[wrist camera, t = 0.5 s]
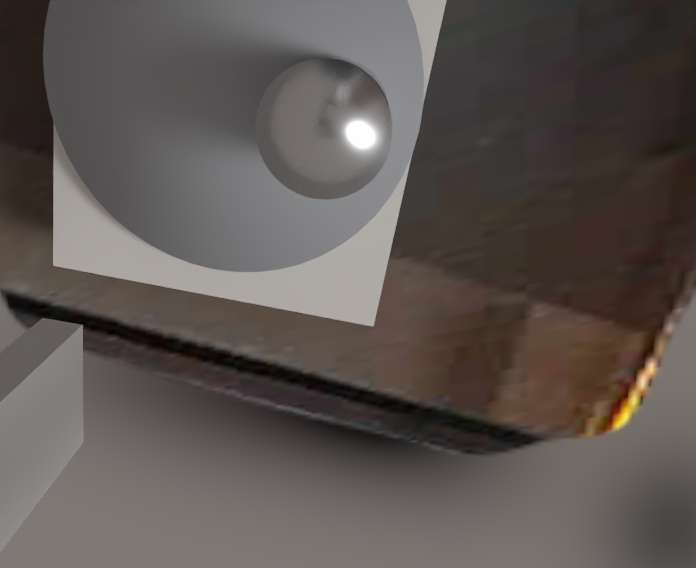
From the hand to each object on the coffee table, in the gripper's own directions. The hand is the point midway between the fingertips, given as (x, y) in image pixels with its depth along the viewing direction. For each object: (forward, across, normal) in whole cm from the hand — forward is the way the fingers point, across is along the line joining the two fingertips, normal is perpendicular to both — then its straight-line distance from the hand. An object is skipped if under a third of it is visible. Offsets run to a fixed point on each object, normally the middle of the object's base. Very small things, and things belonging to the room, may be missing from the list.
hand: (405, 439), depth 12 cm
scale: (+25, -8, +3) cm, 27 cm away
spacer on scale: (+19, -3, +4) cm, 20 cm away
